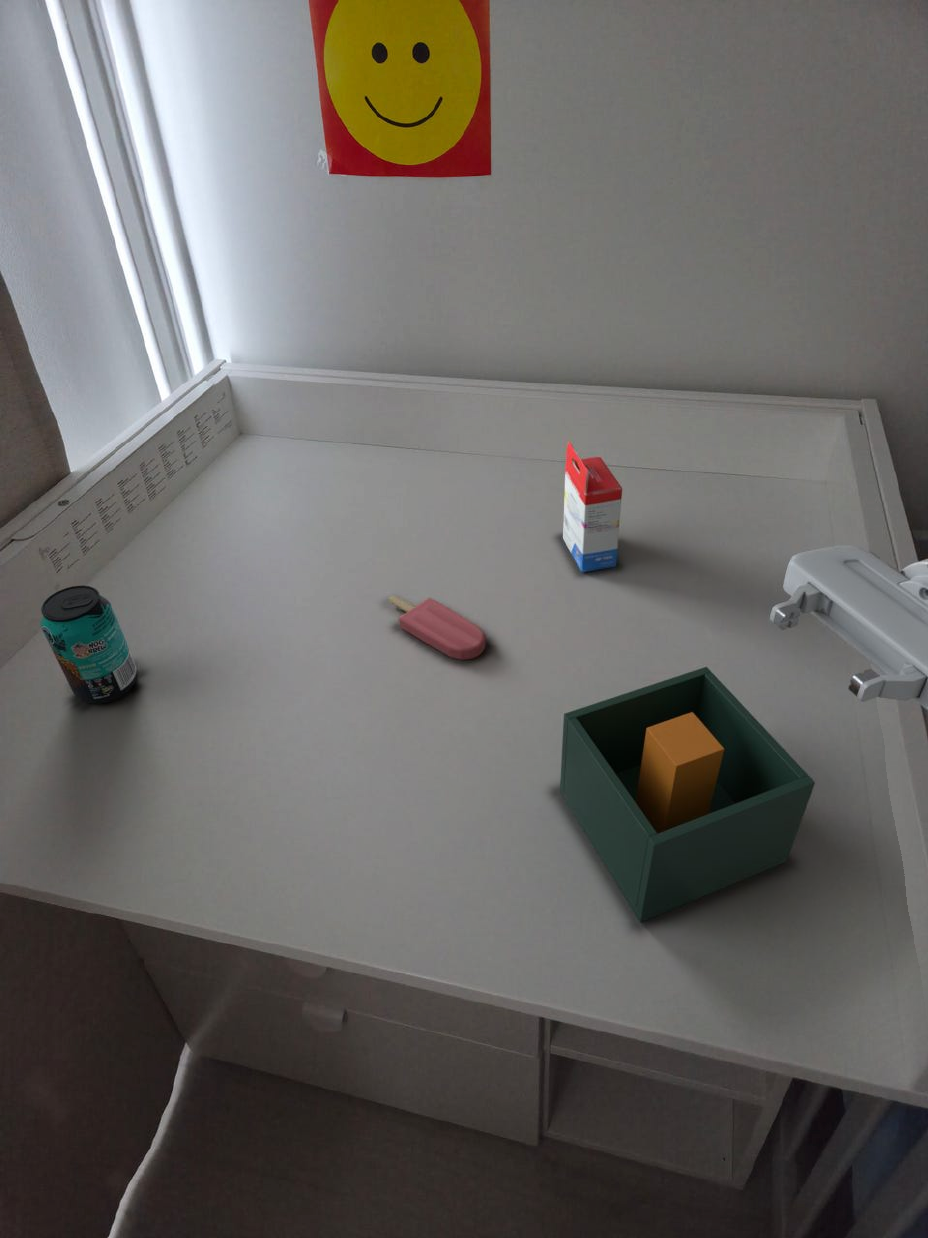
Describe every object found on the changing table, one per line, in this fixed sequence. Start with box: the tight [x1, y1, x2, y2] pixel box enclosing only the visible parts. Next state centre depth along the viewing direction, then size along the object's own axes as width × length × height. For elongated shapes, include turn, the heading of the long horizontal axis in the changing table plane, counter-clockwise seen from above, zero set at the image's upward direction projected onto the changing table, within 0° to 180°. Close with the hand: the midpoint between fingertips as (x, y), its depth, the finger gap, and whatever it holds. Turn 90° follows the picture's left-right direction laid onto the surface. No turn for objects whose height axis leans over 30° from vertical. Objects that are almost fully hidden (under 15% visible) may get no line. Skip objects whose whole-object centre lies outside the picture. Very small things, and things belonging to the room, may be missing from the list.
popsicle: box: [388, 595, 486, 661], centre depth 96 cm, size 5×2×15 cm
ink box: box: [562, 441, 623, 573], centre depth 103 cm, size 8×5×15 cm, turn 12°
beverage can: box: [40, 585, 139, 704], centre depth 88 cm, size 7×7×12 cm
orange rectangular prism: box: [636, 712, 724, 834], centre depth 70 cm, size 4×4×11 cm
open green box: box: [559, 666, 816, 923], centre depth 70 cm, size 15×15×11 cm
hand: (814, 652), depth 66 cm, fingers open, 8 cm apart
